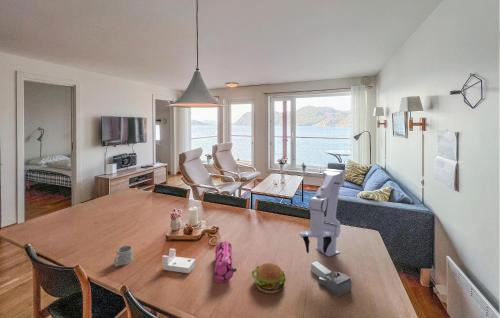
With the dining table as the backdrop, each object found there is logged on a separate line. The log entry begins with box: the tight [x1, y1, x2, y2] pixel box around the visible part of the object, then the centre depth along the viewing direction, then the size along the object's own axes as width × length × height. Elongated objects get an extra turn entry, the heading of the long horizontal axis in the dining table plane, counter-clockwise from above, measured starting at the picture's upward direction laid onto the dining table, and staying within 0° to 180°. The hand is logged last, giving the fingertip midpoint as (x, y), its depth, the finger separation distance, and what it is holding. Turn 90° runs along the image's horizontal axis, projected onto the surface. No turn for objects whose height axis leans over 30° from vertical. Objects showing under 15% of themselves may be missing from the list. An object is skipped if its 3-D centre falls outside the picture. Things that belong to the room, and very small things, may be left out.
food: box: [251, 262, 286, 294], centre depth 98 cm, size 14×14×8 cm
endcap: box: [318, 270, 353, 298], centre depth 97 cm, size 10×10×5 cm
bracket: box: [161, 248, 197, 274], centre depth 109 cm, size 13×7×8 cm, turn 77°
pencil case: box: [213, 240, 238, 283], centre depth 109 cm, size 21×10×10 cm, turn 9°
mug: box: [113, 245, 134, 267], centre depth 114 cm, size 10×7×7 cm
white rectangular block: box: [310, 261, 333, 279], centre depth 104 cm, size 9×4×4 cm, turn 27°
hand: (315, 251), depth 106 cm, fingers open, 7 cm apart
